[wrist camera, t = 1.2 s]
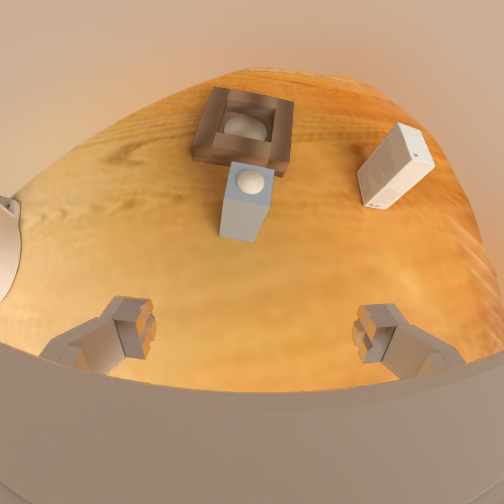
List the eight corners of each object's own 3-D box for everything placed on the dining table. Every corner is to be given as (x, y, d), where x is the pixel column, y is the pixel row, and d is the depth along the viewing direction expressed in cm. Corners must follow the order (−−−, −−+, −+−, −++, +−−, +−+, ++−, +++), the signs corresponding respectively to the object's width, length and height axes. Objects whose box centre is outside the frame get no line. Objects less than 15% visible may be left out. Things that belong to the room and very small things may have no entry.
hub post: (218, 236, 31) (224, 196, 23) (225, 206, 33) (232, 159, 24) (253, 242, 32) (270, 205, 23) (257, 212, 33) (275, 167, 24)
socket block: (192, 160, 34) (191, 143, 31) (212, 103, 38) (213, 86, 35) (282, 177, 35) (289, 161, 32) (287, 117, 39) (293, 102, 36)
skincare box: (386, 210, 36) (436, 167, 25) (362, 207, 36) (411, 159, 25) (377, 176, 38) (420, 129, 27) (355, 171, 38) (396, 120, 27)
